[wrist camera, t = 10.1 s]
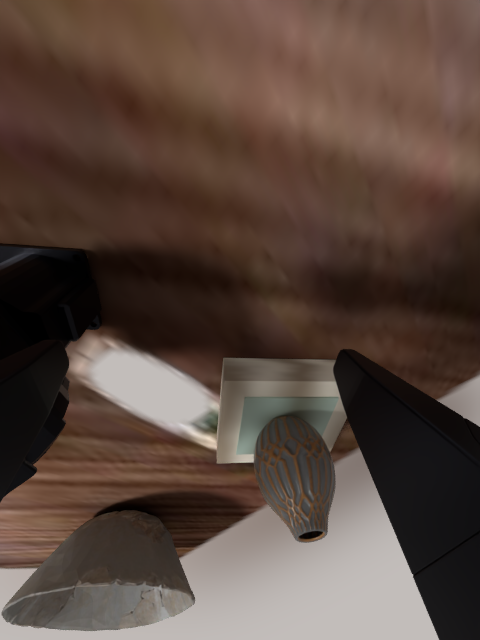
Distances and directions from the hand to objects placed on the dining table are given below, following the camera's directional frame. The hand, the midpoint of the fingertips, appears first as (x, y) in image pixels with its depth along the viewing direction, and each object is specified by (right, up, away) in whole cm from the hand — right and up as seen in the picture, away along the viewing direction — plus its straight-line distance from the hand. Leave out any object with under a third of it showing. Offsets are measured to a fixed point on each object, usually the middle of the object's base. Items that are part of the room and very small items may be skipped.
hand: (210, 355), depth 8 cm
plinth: (+5, -8, +20) cm, 22 cm away
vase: (+5, -10, +17) cm, 21 cm away
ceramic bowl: (-17, -31, +32) cm, 48 cm away
